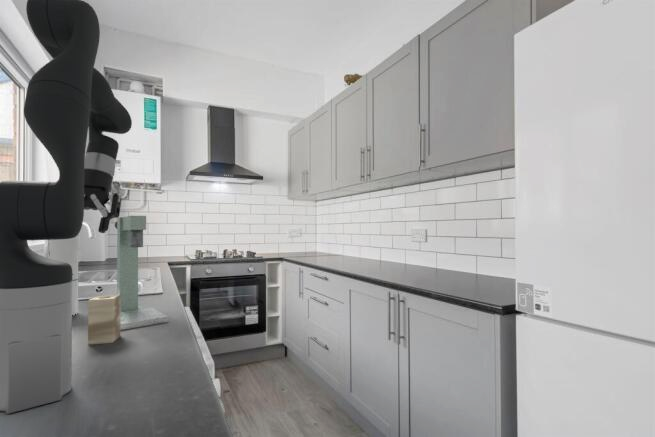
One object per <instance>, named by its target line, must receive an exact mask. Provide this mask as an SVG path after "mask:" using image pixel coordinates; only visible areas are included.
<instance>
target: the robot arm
mask: <svg viewBox="0 0 655 437" xmlns="http://www.w3.org/2000/svg"><path fill="white" fill-rule="evenodd" d="M25 10H26V16H27V17H26V18H27V22H28V24H29V27H30V28H31V31H32V33H33V34H34V36H35V37H36V39H37V40H38V41H39V44H41V46H42V47H43V49H44V50H45V51H46V52H47V53H48V54H49V56H50V57H51V58H52V59H51V60H50V61H48V62H46V63H45V64H44V65H43V66H41V67H40V68H39V69H38V70H37V71H36V72H35V73H34V74H33V75H32V77H31V78H30V79H29V81H28V85H27V89H26V96H25V101H24V106H23V116H24V119H25V121H26V123H27V126H28V127H29V128H30V130H31V132H33V134H34V135H35V137H36V138H37V140H38V141H40V143H41V144H42V146H44V148H45V149H46V150H47V152H48V154H49V155H50V156H51V158H52V159H53V162H54V163H55V165H56V167H57V168H58V172H59V176H58V177H59V178H58V180H56V181H42V180H41V181H40V180H38V181H37V180H3V181H0V412H5V414H6V415H9V414H12V413H16V412H19V411H23V410H24V411H25V410H27V409H30V408H35V407H38V406H42V405H43V406H44V405H46V404H49V403H53V402H58V401H60V400H62V399H63V397H64V396H65V395H66V394H68V393H69V392H70V391H72V390H71V389H72V388H73V387H72V385H73V384H72V383H73V382H72V381H73V377H72V375H73V374H72V372H73V371H72V370H73V369H72V368H73V366H72V365H73V363H72V362H73V360H72V359H73V358H72V357H73V353H72V352H73V351H72V350H73V344H72V343H73V342H72V341H73V335H72V334H73V333H72V332H73V327H72V326H73V316H72V267H71V265H70V264H68V263H65V262H62V261H57V260H53V259H50V257H47V256H46V257H45V256H43V255H40V254H38V253H37V252H35V251H34V250H32V249H31V247H30V246H29V244H28V241H50V240H58V239H71V238H74V237H76V236H77V235H78V236H79V235H80V233H81V230H82V227H83V223H84V222H83V221H84V216H85V214H84V213H85V210H87V211H88V210H92V211H99V212H100V214H101V216H102V217H100V221H99V226H98V233H100V234H105V233H106V232H107V231H108V230H109V225H110V221H111V219H115V218H116V219H117V218H119V217H120V212H121V206H122V196H120V195H119V194H118V193H114V194H110V192H111V189H112V185H113V180H114V176H115V174H116V173H115V171H116V161H117V157H118V154H119V153H118V152H119V148H120V146H119V142H118V141H117V140H116V139H115V138H112V137H110V136H108V135H106V134H103V133H111V134H116V135H117V134H118V135H123V134H126V133H129V131H130V130H131V128H132V125H133V124H132V123H133V122H132V117H131V115H130V113H129V111H128V110H127V108H126V107H125V106H124V105H123V104H122V103H121V102H120V101H119V100H118V99H117V98H116V97H115V94H114V91H113V89H112V87H111V85H110V84H109V81H108V80H107V79H106V77H105V76H104V75H103V73H102V72H100V71H99V70H98V69H97V68H96V67H94V66H95V63H96V59H97V54H98V51H99V50H98V49H99V45H100V38H101V37H100V35H101V34H100V33H101V32H100V23H99V22H100V21H99V18H98V15H97V13H96V11H95V9H94V7H93V6H92V5H91V4H90V3H88V2H86V1H85V0H27V2H26V9H25ZM87 139H88V140H87ZM87 141H88V144H87ZM109 201H110V202H111V206H110V212H109V209H108V208H107V205H106V204H107V203H108V202H109Z"/></svg>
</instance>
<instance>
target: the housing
mask: <svg viewBox="0 0 655 437" xmlns="http://www.w3.org/2000/svg"><path fill="white" fill-rule="evenodd" d="M87 302H88V303H87V306H88V308H87V310H88V311H87V312H88V313H87V327H88V328H87V329H88V330H87V345H89V346H90V345H101V344H113V343H114V342H115V341H117V340H118V339H119V338H120V337H121V330H120V313H121V295H117V294H116V295H115V294H113V295H97V296H95V297H93V298H90V299H88V300H87Z"/></svg>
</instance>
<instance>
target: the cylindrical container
mask: <svg viewBox="0 0 655 437" xmlns="http://www.w3.org/2000/svg"><path fill="white" fill-rule="evenodd" d="M49 259H53V260H57V261H62V262H65V263H68V264H70V265H71V267H72V315H73V316H76V315H78V314H79V234H78V235H77V236H76V237H74V238H71V239H58V240H49ZM77 313H78V314H77ZM75 314H76V315H75Z"/></svg>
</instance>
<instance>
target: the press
mask: <svg viewBox="0 0 655 437" xmlns="http://www.w3.org/2000/svg"><path fill="white" fill-rule="evenodd" d="M114 227H115V229H116V230H117V231H116V232H117V233H116V234H117V235H116V237H117V238H116V244H117V245H116V246H117V247H116V255H117V257H116V265H117V266H116V275H117V276H116V277H117V278H116V281H117V283H116V286H117V287H116V289H117V290H116V295H121V313H120V331H123V330H130V329H135V328H141V327H147V326H151V325H158V324H164V323H168V321H169V319H168V318H169V316H168V315H166V314H164V313H163V312H161V311H159V310H158V309H157V310H156V308H153V307H148V308H144V307H143V306H142V305H139V248H144V231H146V230H147V215H126V216H122V217H120V216H119V217H118V218H116V221H115V223H114Z"/></svg>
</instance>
